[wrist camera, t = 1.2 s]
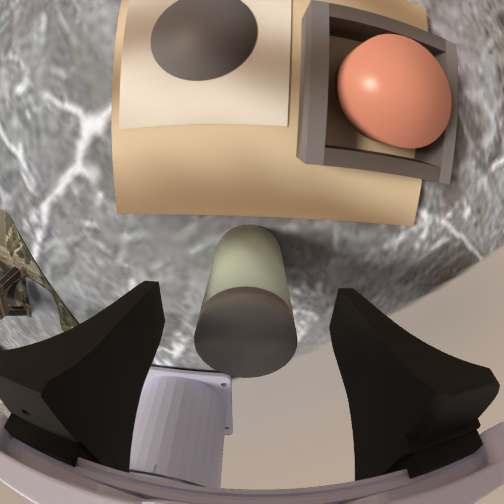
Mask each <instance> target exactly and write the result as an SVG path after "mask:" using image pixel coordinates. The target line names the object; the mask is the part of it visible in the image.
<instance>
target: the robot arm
mask: <svg viewBox="0 0 504 504" xmlns="http://www.w3.org/2000/svg"><path fill="white" fill-rule="evenodd" d="M164 324H165V318H164V313H163V307H162V301H161V294H160V288H159V282H155V281H144V282H142V283H140V284H139V285H138V286H136V287H135V288H133V289H132V290H131V291H129V292H128V293H126V294H125V295H124V296H122V297H121V298H120V299H118V300H117V301H115V302H114V303H113V304H111V305H110V306H108V307H107V308H105V309H104V310H102V311H101V312H99V313H98V314H96V315H95V316H93V317H91V318H90V319H88V320H86V321H85V322H83V323H81V324H79V325H77V326H75V327H74V328H72V329H70V330H67V331H65V332H63V333H60V334H58V335H56V336H54V337H51V338H49V339H46V340H43V341H40V342H37V343H34V344H31V345H27V346H24V347H19V348H15V349H10V350H5V351H2V352H1V354H0V400H1V401H2V402H3V403H4V405H5V406H6V407H7V408H8V409H9V411H10V412H11V415H10V417H9V418H7V417H6V416H5V415H4V414H2V413H1V412H0V480H1V481H2V482H3V483H5V484H6V485H7V486H9V487H10V488H12V489H13V490H15V491H16V492H18V493H19V494H21V495H22V496H24V497H26V498H27V499H29V500H30V501H32V502H34V503H35V504H473V503H475V502H477V501H478V500H480V499H482V498H483V497H485V496H486V495H488V494H489V493H491V492H492V491H494V490H495V489H497V488H498V487H500V486H501V485H502V484H504V422H501V423H499V424H497V425H495V426H494V427H492V428H490V429H488V430H486V431H484V432H483V433H482V434H480V435H479V433H478V431H477V429H478V428H479V427H480V422H479V420H478V417H480V415H481V414H482V413H483V412H484V411H485V410H486V409H487V407H488V406H489V405H490V404H491V402H492V401H493V400H494V399H495V397H496V395H497V394H498V391H499V387H500V385H499V383H498V381H497V380H496V378H495V376H494V374H493V373H492V371H491V370H490V369H489V368H486V367H483V366H479V365H476V364H472V363H469V362H466V361H463V360H461V359H458V358H455V357H453V356H451V355H448V354H446V353H444V352H442V351H440V350H438V349H436V348H434V347H432V346H430V345H428V344H426V343H425V342H423V341H421V340H420V339H418V338H416V337H415V336H413V335H412V334H410V333H409V332H407V331H406V330H404V329H403V328H402V327H400V326H399V325H397V324H396V323H395V322H393V321H392V320H391V319H390V318H388V317H387V316H386V315H385V314H383V313H382V312H381V311H380V310H379V309H377V308H376V307H375V306H374V305H373V304H371V303H370V302H369V301H368V300H367V299H365V298H364V297H363V296H362V295H361V294H359V293H358V292H357V291H356V290H354V289H353V288H339V289H338V293H337V298H336V302H335V306H334V311H333V315H332V319H331V323H330V327H329V328H330V335H331V341H332V346H333V350H334V354H335V357H336V360H337V363H338V366H339V370H340V373H341V376H342V379H343V383H344V386H345V389H346V393H347V397H348V402H349V408H350V414H351V421H352V429H353V439H354V454H355V481H353V482H347V483H341V484H334V485H327V486H319V487H309V488H297V489H277V490H242V489H224V488H220V486H221V471H222V457H223V445H224V435H230V434H232V429H233V428H232V394H231V376H230V375H226V374H224V373H211V372H198V371H187V370H178V369H169V368H161V367H153V366H151V364H152V362H153V359H154V357H155V354H156V351H157V349H158V346H159V344H160V340H161V336H162V333H163V328H164Z"/></svg>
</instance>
